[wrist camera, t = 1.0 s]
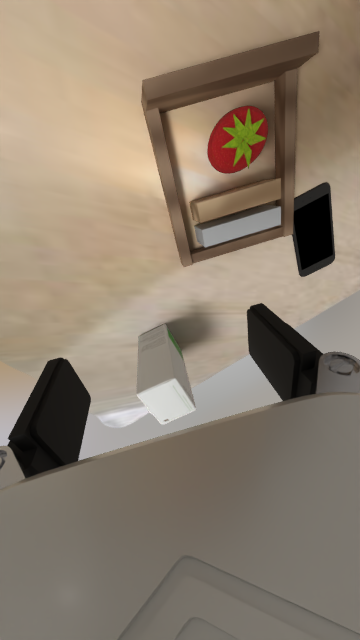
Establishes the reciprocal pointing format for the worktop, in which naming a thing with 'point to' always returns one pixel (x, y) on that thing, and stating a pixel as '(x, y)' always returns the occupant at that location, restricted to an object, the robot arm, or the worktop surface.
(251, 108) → the strawberry
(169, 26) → the worktop surface
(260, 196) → the inner offcut board
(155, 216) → the worktop surface
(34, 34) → the worktop surface
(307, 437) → the robot arm
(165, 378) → the skincare box
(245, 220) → the outer offcut board
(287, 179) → the rack
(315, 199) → the smartphone
